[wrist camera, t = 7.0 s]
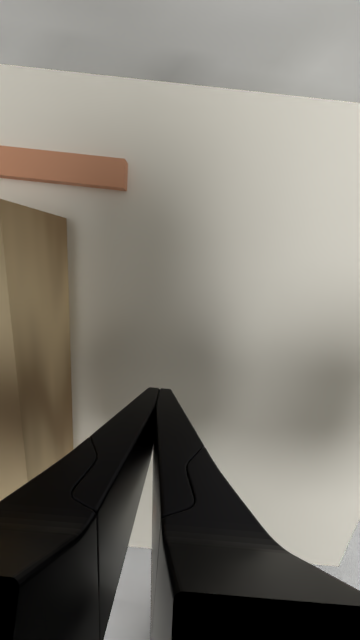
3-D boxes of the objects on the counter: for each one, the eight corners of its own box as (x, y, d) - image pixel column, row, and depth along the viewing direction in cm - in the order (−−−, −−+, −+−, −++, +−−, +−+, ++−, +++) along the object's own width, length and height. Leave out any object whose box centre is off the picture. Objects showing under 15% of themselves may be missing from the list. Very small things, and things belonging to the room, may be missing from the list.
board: (332, 554, 13) (343, 576, 12) (-210, 503, 13) (-238, 521, 12) (510, 130, 7) (553, 113, 7) (-446, 26, 7) (-532, -5, 6)
